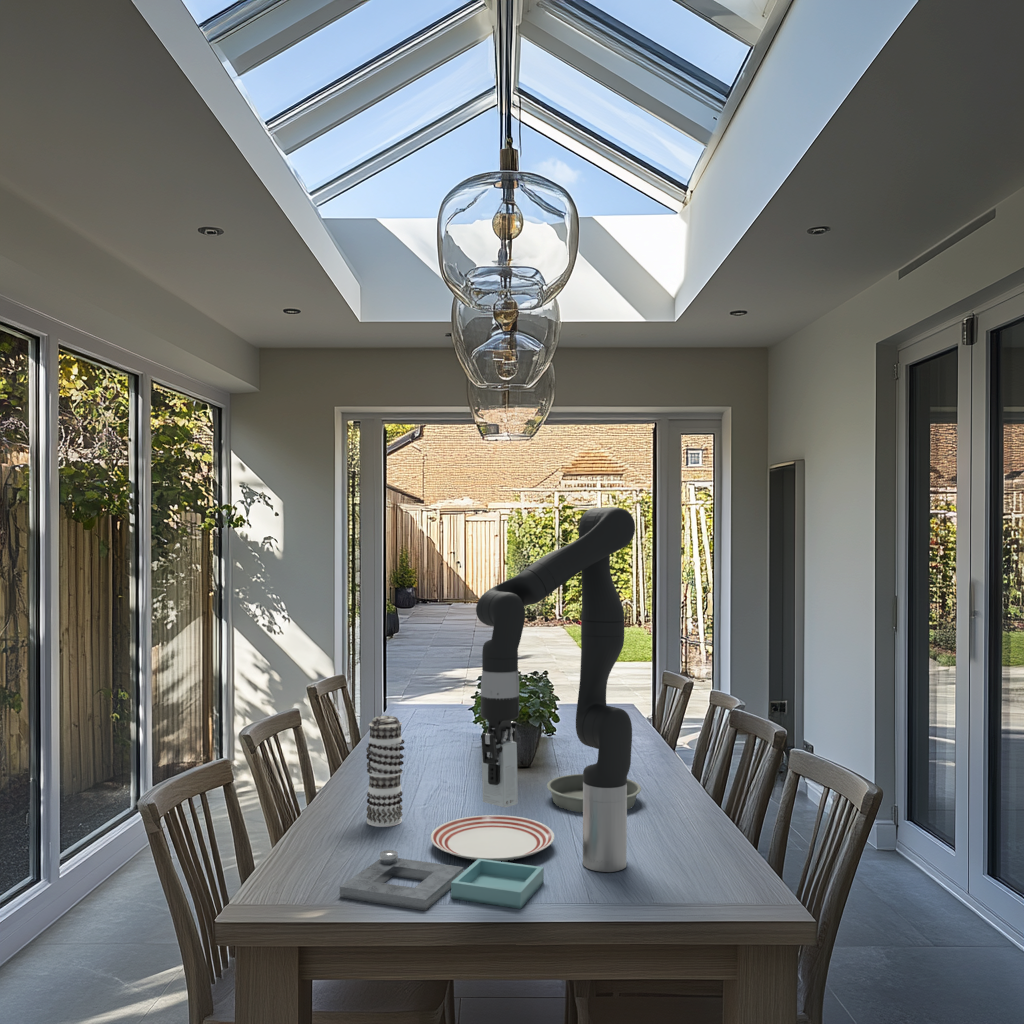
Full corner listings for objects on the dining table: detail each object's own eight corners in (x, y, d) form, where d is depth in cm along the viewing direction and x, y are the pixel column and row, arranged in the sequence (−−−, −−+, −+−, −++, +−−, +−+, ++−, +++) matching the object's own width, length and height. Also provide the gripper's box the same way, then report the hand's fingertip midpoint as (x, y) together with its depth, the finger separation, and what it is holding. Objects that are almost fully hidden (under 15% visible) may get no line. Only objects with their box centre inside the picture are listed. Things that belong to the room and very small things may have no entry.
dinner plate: (542, 875, 186) (543, 859, 186) (414, 864, 192) (414, 848, 192) (562, 833, 213) (562, 819, 213) (449, 825, 218) (449, 811, 219)
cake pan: (536, 811, 230) (536, 793, 231) (559, 786, 254) (559, 770, 254) (632, 820, 223) (632, 802, 223) (647, 794, 247) (647, 777, 247)
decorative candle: (408, 825, 218) (409, 719, 218) (369, 829, 214) (371, 722, 215) (398, 814, 226) (399, 712, 227) (361, 818, 223) (362, 715, 224)
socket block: (383, 865, 190) (384, 848, 190) (463, 877, 184) (463, 859, 184) (339, 897, 173) (339, 878, 173) (425, 910, 167) (425, 890, 167)
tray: (478, 873, 186) (478, 858, 186) (543, 882, 181) (543, 867, 182) (450, 898, 173) (451, 882, 173) (520, 908, 168) (520, 892, 168)
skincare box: (518, 804, 177) (519, 741, 178) (503, 808, 174) (503, 744, 175) (495, 798, 182) (496, 736, 182) (480, 802, 178) (480, 740, 179)
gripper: (505, 700, 171) (505, 791, 170) (529, 689, 184) (529, 773, 184) (468, 698, 173) (467, 788, 173) (495, 686, 187) (494, 770, 186)
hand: (499, 780), depth 178 cm, fingers closed on skincare box, 5 cm apart
